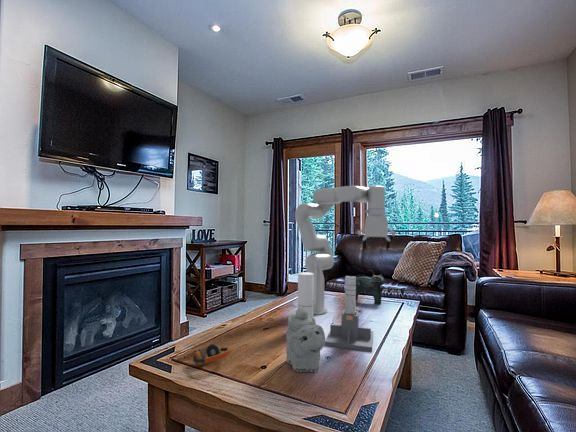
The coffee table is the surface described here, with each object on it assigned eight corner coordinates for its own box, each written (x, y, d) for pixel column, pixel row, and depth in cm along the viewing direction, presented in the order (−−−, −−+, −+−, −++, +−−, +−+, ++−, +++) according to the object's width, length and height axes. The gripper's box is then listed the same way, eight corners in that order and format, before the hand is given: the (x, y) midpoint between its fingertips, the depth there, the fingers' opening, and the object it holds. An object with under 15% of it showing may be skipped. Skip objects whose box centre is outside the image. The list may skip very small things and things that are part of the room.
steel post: (344, 321, 126) (345, 277, 127) (345, 318, 130) (346, 275, 131) (354, 322, 125) (355, 278, 126) (355, 319, 129) (355, 276, 129)
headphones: (205, 339, 120) (241, 338, 108) (207, 353, 119) (243, 354, 108) (166, 353, 106) (202, 355, 95) (168, 370, 106) (204, 373, 94)
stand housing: (324, 345, 121) (325, 317, 122) (331, 330, 139) (331, 305, 139) (372, 351, 116) (372, 322, 117) (373, 334, 133) (373, 309, 134)
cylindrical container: (315, 327, 143) (315, 273, 143) (309, 331, 136) (310, 275, 137) (301, 324, 146) (301, 271, 146) (295, 329, 139) (295, 274, 140)
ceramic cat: (384, 303, 187) (384, 270, 187) (381, 305, 181) (381, 271, 182) (353, 299, 198) (353, 267, 198) (349, 301, 192) (349, 268, 193)
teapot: (319, 383, 92) (319, 320, 93) (273, 374, 98) (274, 314, 98) (332, 361, 108) (332, 307, 108) (291, 354, 113) (292, 302, 114)
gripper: (356, 212, 142) (356, 249, 142) (396, 212, 137) (396, 250, 137) (357, 212, 149) (357, 248, 149) (395, 212, 144) (395, 249, 144)
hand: (376, 249), depth 143 cm, fingers open, 9 cm apart
